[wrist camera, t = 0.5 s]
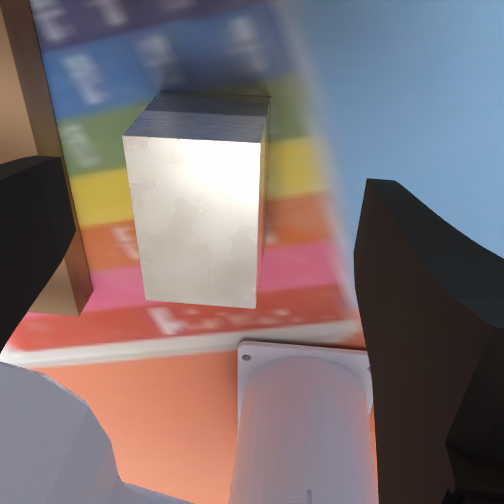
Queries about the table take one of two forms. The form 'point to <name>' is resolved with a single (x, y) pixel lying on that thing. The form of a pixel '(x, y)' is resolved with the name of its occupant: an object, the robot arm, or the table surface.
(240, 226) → the block
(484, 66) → the table surface
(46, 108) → the walnut stand
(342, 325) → the table surface
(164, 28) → the table surface
